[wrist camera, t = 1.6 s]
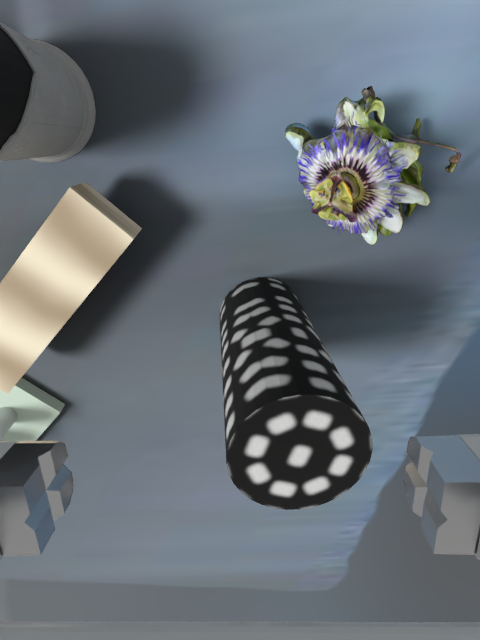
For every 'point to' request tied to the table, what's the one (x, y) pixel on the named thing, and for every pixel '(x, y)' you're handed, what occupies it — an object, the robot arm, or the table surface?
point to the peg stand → (26, 412)
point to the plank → (57, 275)
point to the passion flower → (362, 169)
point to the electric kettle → (41, 101)
